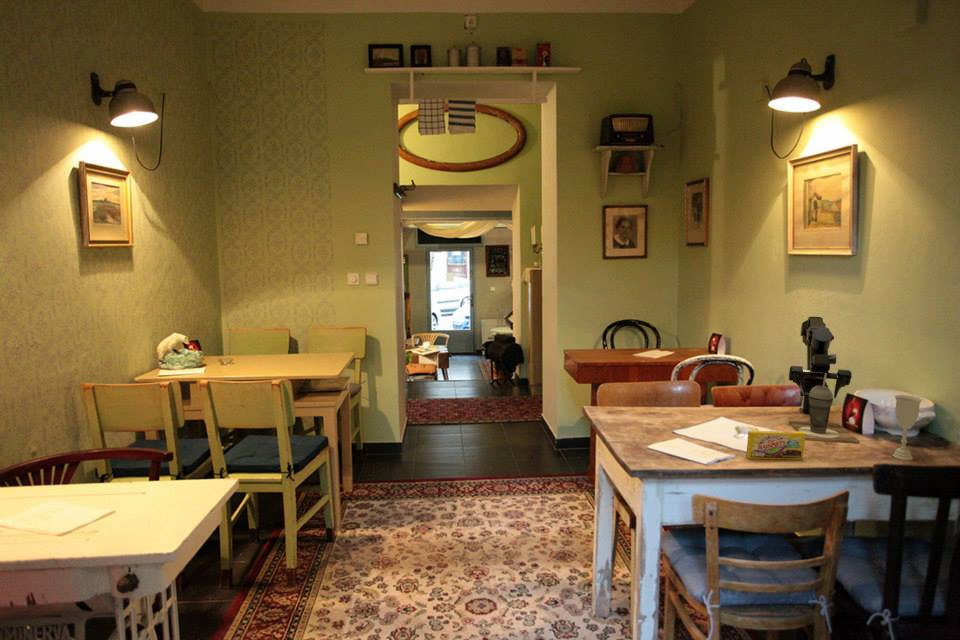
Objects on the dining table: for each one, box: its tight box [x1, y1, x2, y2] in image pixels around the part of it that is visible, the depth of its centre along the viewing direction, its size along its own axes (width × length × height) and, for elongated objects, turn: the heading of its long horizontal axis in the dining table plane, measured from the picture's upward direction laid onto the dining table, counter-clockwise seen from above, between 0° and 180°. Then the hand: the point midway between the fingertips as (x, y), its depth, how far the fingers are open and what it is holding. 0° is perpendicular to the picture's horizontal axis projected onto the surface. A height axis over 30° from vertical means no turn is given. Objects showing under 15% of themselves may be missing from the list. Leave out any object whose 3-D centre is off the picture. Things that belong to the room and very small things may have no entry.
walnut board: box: [788, 420, 860, 444], centre depth 218 cm, size 20×16×1 cm
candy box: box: [745, 430, 806, 460], centre depth 191 cm, size 16×2×8 cm, turn 90°
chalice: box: [892, 394, 923, 461], centre depth 193 cm, size 7×7×18 cm
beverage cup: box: [808, 373, 834, 434], centre depth 214 cm, size 7×7×20 cm
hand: (819, 396), depth 219 cm, fingers open, 9 cm apart
